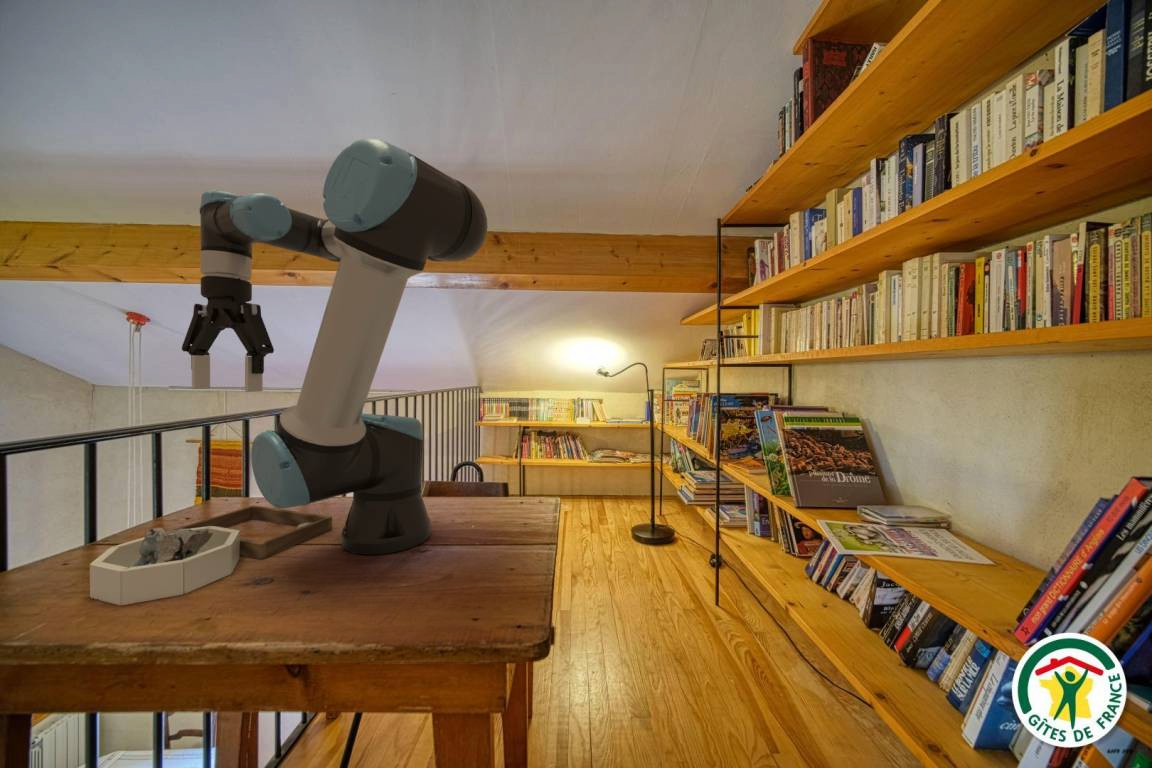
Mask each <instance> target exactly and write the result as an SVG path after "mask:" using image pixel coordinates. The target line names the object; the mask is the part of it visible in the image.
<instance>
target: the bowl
mask: <svg viewBox="0 0 1152 768" xmlns="http://www.w3.org/2000/svg"><path fill="white" fill-rule="evenodd" d="M201 529H209V530H208V532H211V533H213V535H212V536H211V538H210V540H209V541H208V542H207V543H205V544H204V545H203V546H202V547H201V548H200V549H199V551H198V552H197V554H196V555H194V556H191V557H188V558H186V559H183V560H177V561H170V562H164V563H157V564H150V565H144V566H137V567H130V568H128V567H129V566H130V565H131V564H132V563H134V562H136V561H137V560H139V559H140V557H141V554H139V549H140V547H141V543H142V542H143V540H144V539H145V538H144V537H141V538H137V539H134V540H131V541H127V542H123V543H120V544H118V545H114V546H111V547H109V548H108V549H107V550H105V551H103V552H102V554H100V555H99V556H98V557H97V558H96V559H94V560H93V561H92V562H91V563H89V598H90V597H91V598H90V599H93V598H94V599H93V600H97V599H98V601H101V602H105V603H109V604H113V605H116V606H126V605H132V604H137V603H143V602H147V601H154V600H160V599H165V598H171V597H176V596H182V595H186V594H188V593H191V592H193V591H196V590H197V589H199V588H202V587H204V586H206V585H209V584H211V583H213V582H216V581H218V580H221V579H223V578H225V577H227V576H229V575H231V574H233V572H234V570H235V568H236V566H237V565H238V563H239V560H240V557H241V556H240V538H241V535H240V533H241V531H240V529H233V528H229V527H226V528H222V527H216V526H207V527H199V528H191V530H192V531H196V530H201ZM182 530H186V529H182Z"/></svg>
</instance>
